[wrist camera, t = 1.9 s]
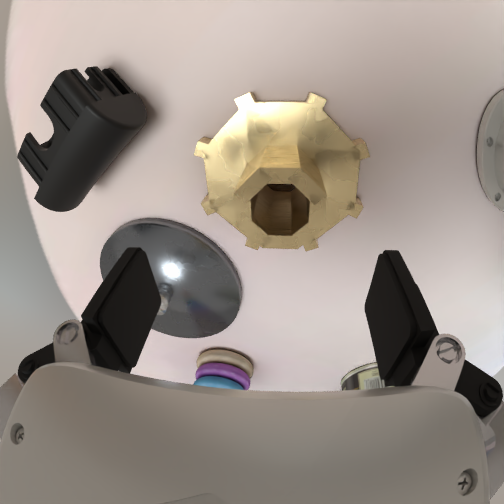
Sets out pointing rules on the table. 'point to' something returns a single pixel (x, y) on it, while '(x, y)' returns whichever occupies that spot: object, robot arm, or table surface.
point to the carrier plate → (181, 276)
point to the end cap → (81, 135)
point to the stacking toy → (223, 370)
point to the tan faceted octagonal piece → (282, 172)
